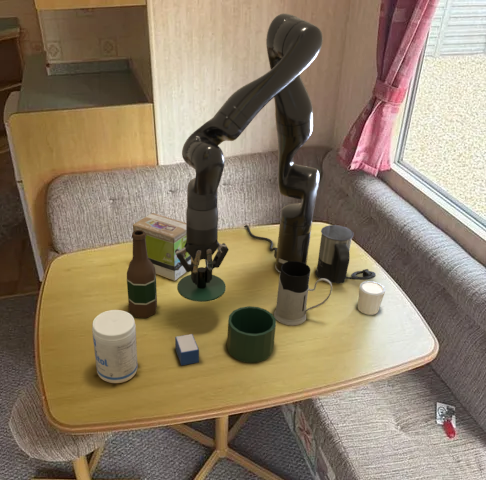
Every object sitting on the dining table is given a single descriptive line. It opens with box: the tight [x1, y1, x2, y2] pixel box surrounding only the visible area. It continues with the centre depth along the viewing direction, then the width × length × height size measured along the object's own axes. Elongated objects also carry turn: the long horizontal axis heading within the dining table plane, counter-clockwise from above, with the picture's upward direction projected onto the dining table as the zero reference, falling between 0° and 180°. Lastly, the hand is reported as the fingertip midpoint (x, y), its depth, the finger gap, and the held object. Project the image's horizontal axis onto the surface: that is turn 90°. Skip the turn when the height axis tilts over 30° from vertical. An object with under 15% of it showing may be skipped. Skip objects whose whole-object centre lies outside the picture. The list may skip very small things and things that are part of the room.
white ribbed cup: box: [357, 280, 386, 316], centre depth 151 cm, size 7×7×7 cm
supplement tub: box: [91, 309, 139, 384], centre depth 126 cm, size 10×10×15 cm
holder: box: [273, 261, 333, 326], centre depth 145 cm, size 9×14×15 cm, turn 69°
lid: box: [176, 266, 227, 303], centre depth 140 cm, size 12×12×6 cm
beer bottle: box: [126, 230, 158, 319], centre depth 144 cm, size 8×8×24 cm
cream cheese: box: [174, 333, 200, 366], centre depth 134 cm, size 6×4×4 cm
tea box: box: [132, 212, 191, 281], centre depth 165 cm, size 15×10×15 cm
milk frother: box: [314, 224, 377, 284], centre depth 162 cm, size 14×16×15 cm
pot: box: [226, 305, 277, 364], centre depth 136 cm, size 11×11×8 cm
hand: (201, 281), depth 141 cm, fingers closed on lid, 2 cm apart
